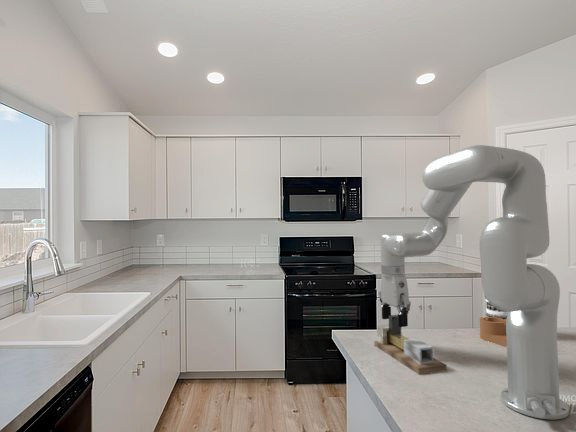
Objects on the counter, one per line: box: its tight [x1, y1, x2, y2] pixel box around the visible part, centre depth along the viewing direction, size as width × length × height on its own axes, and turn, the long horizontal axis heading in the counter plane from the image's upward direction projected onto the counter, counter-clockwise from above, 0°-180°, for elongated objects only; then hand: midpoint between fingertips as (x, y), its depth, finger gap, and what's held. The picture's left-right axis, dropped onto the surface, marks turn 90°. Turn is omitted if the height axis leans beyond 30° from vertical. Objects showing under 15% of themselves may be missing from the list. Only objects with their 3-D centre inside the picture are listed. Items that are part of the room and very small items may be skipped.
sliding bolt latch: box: [374, 324, 447, 375], centre depth 110 cm, size 24×9×7 cm, turn 15°
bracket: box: [479, 316, 507, 348], centre depth 121 cm, size 18×8×7 cm, turn 25°
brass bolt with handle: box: [387, 314, 409, 350], centre depth 113 cm, size 15×3×9 cm, turn 15°
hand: (394, 322), depth 117 cm, fingers open, 9 cm apart
